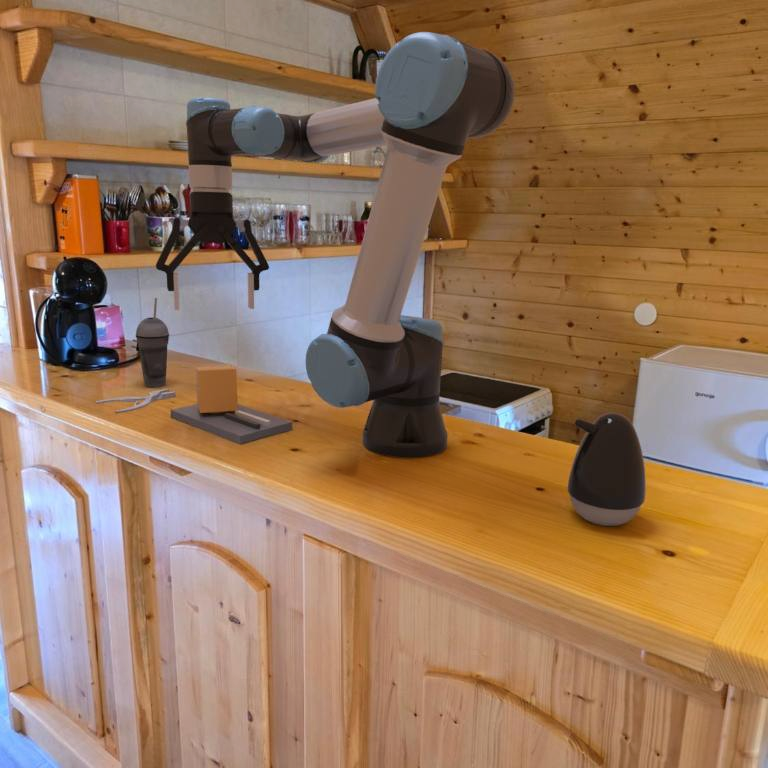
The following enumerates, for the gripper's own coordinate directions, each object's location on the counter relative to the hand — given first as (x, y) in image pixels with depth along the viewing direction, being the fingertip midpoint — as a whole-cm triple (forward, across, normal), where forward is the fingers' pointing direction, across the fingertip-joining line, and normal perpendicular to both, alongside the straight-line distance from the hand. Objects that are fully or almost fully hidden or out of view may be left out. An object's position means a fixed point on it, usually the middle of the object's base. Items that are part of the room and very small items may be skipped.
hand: (214, 308), depth 130 cm
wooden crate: (+20, 0, 0) cm, 20 cm away
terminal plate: (+22, -2, +3) cm, 22 cm away
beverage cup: (+22, +11, -29) cm, 38 cm away
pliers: (+22, +14, -16) cm, 31 cm away
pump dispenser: (+22, -46, +59) cm, 78 cm away
